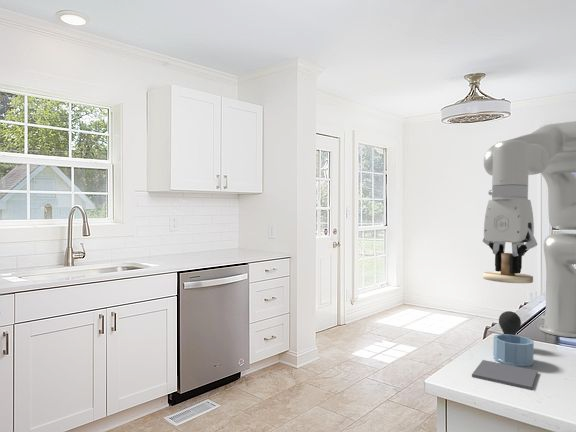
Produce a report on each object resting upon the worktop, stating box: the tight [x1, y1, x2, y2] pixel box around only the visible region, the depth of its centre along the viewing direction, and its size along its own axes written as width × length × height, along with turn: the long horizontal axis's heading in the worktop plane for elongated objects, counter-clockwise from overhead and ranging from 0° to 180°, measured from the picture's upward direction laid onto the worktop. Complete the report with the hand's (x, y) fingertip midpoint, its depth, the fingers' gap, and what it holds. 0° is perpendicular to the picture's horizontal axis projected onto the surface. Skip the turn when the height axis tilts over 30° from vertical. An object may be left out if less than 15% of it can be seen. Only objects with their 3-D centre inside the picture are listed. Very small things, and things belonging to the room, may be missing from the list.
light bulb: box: [498, 310, 522, 335], centre depth 122 cm, size 6×6×10 cm
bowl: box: [492, 333, 535, 368], centre depth 110 cm, size 9×9×6 cm
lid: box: [482, 252, 534, 284], centre depth 101 cm, size 10×10×6 cm
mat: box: [471, 359, 538, 391], centre depth 100 cm, size 12×12×1 cm
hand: (507, 271), depth 101 cm, fingers closed on lid, 3 cm apart
